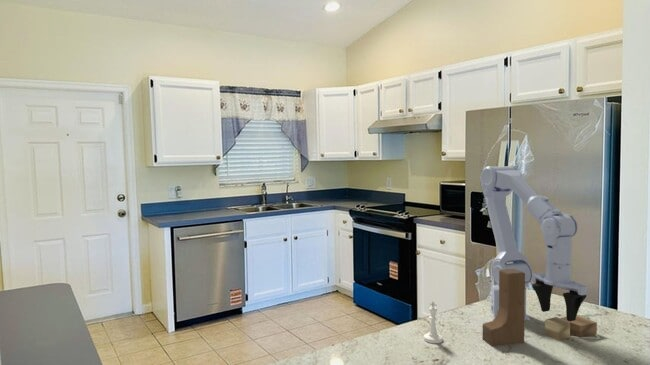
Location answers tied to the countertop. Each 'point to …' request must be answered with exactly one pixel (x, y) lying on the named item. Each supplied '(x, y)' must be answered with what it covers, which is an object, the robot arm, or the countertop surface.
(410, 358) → the countertop surface
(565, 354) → the countertop surface
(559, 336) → the maple cube
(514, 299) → the wooden block
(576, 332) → the walnut slab
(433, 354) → the countertop surface
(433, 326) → the chess piece
